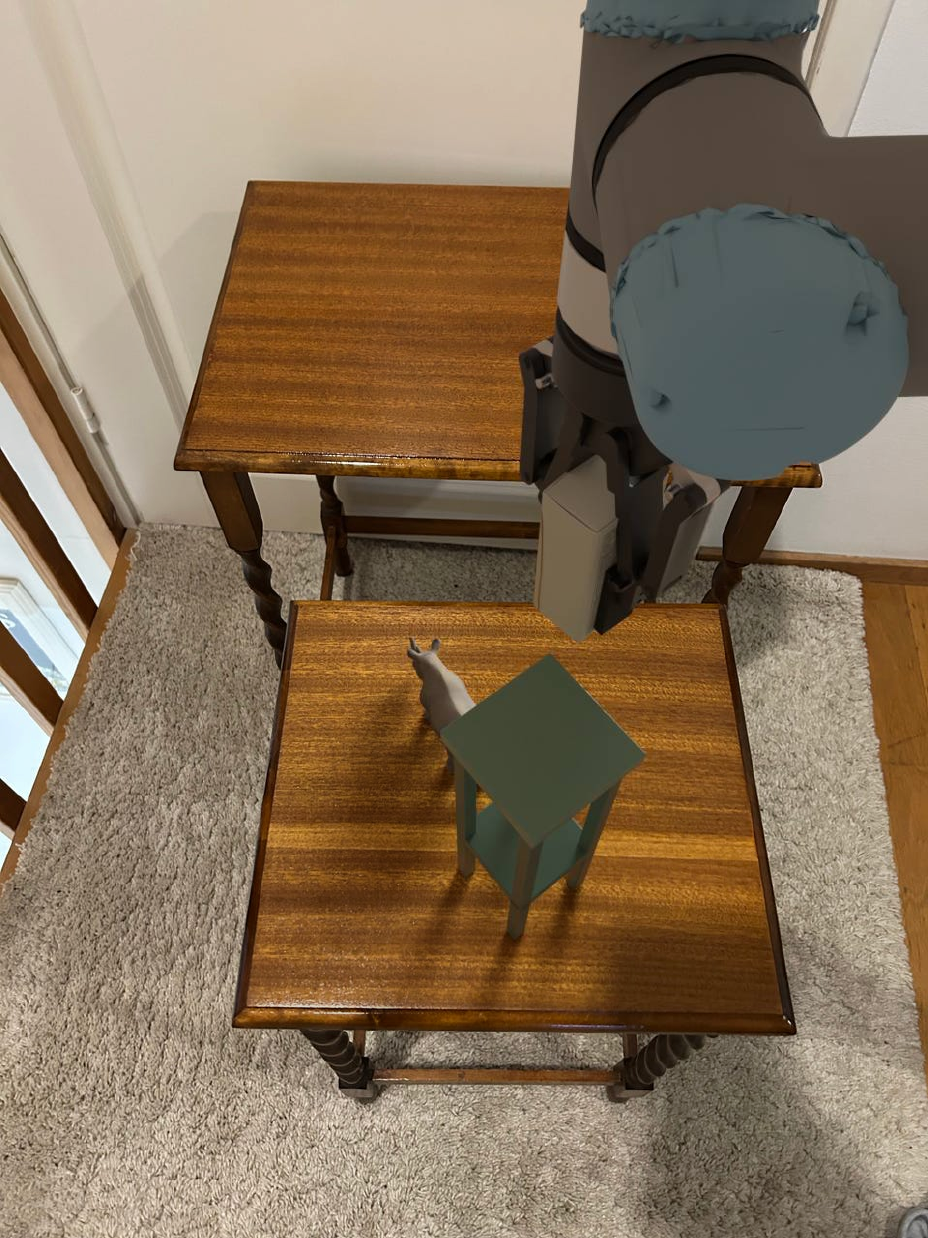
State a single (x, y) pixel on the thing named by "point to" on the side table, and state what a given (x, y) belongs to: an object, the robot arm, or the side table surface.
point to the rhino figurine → (439, 691)
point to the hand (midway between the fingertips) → (585, 593)
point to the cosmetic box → (576, 547)
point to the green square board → (541, 749)
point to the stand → (524, 848)
